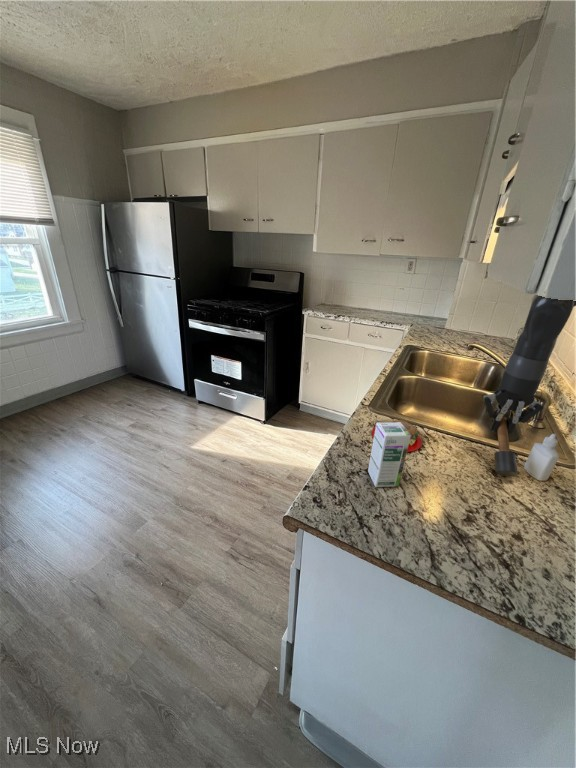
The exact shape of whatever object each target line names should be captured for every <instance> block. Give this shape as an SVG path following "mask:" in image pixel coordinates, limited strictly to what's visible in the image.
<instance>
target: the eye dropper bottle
mask: <svg viewBox="0 0 576 768" xmlns="http://www.w3.org/2000/svg"><path fill="white" fill-rule="evenodd" d="M556 436H557V434H556V433H551V434H550V436H545V437H544V440H543V441H542V442H535V443H534V444H533V446H532V448H531V449H530V452H529V454H528V455H527V459H526V460H525V463H524V465H523V468H524V470H525V471H526V473H527V474H528V475H529V476H531V477H532V478H534V479H535V480H537V481H539V482H540V481H541V482H545V481H548V480H549V478H550V476H551V474H552V472H553V470H554V469H555V467H556V464H557V462H558V460H559V457H560V456H559V453H558V452H557V450H556V449H555V448H556V447H557V445H558V443H559V440H558V438H556Z"/></svg>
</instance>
